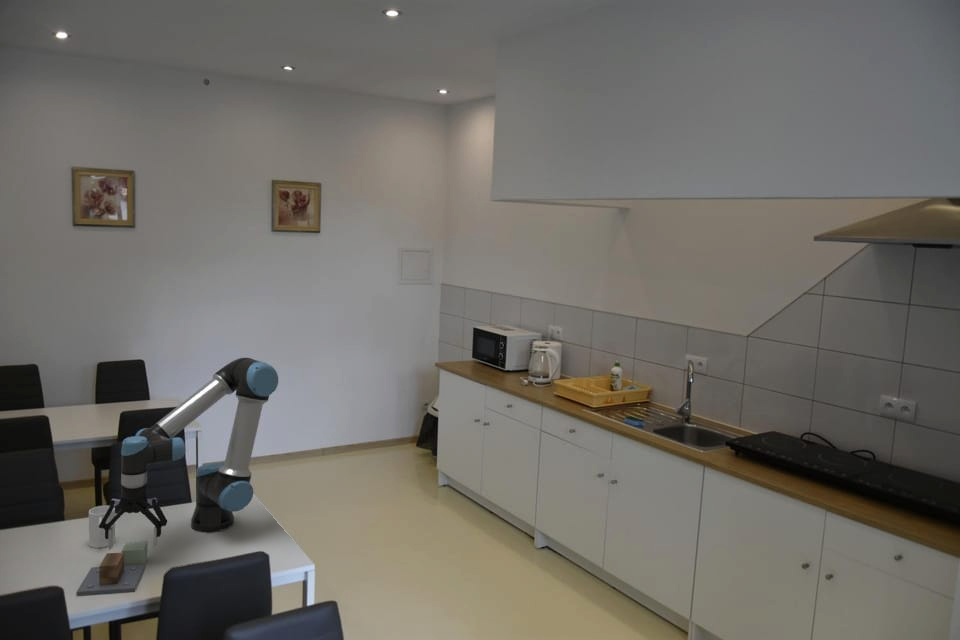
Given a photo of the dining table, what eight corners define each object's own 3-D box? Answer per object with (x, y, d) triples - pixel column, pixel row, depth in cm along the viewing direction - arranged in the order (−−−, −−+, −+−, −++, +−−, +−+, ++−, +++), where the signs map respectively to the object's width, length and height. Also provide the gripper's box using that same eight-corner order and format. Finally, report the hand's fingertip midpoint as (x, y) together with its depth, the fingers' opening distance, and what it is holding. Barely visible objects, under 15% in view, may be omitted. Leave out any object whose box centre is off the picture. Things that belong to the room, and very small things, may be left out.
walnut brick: (124, 570, 227) (124, 552, 227) (117, 583, 219) (117, 565, 218) (107, 571, 226) (106, 553, 225) (99, 585, 218) (99, 566, 217)
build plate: (145, 567, 232) (145, 563, 232) (134, 591, 217) (134, 587, 217) (91, 570, 228) (91, 566, 228) (76, 595, 213) (76, 591, 213)
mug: (111, 551, 243) (111, 517, 241) (83, 553, 240) (82, 519, 239) (118, 536, 254) (117, 504, 253) (91, 538, 251) (90, 505, 250)
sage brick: (147, 558, 239) (147, 541, 238) (143, 567, 233) (143, 549, 232) (126, 559, 238) (126, 542, 237) (121, 568, 231) (121, 550, 231)
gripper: (177, 479, 239) (175, 540, 241) (95, 481, 233) (94, 543, 235) (173, 487, 232) (172, 550, 234) (88, 489, 225) (88, 553, 227)
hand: (133, 547), depth 234 cm, fingers open, 13 cm apart
